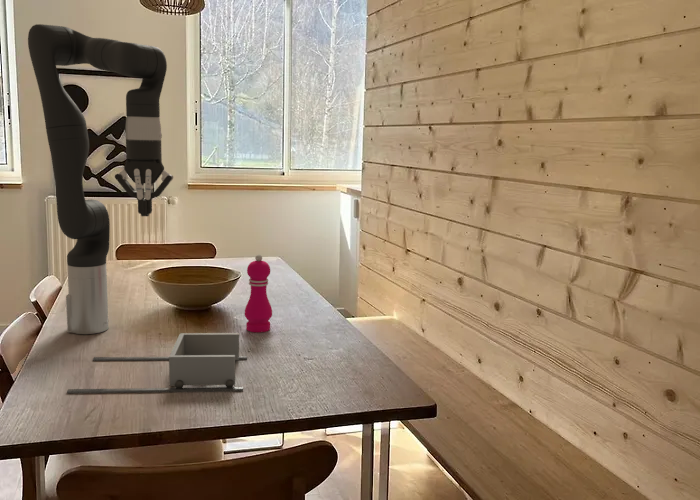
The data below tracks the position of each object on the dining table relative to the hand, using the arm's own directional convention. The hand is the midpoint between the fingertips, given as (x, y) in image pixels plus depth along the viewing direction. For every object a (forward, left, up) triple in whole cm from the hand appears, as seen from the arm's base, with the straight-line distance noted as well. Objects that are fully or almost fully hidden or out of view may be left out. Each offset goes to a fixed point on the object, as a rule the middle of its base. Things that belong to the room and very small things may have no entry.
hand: (145, 215), depth 151 cm
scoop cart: (+15, -15, -32) cm, 38 cm away
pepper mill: (+25, +18, -32) cm, 45 cm away
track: (+6, -15, -32) cm, 36 cm away
